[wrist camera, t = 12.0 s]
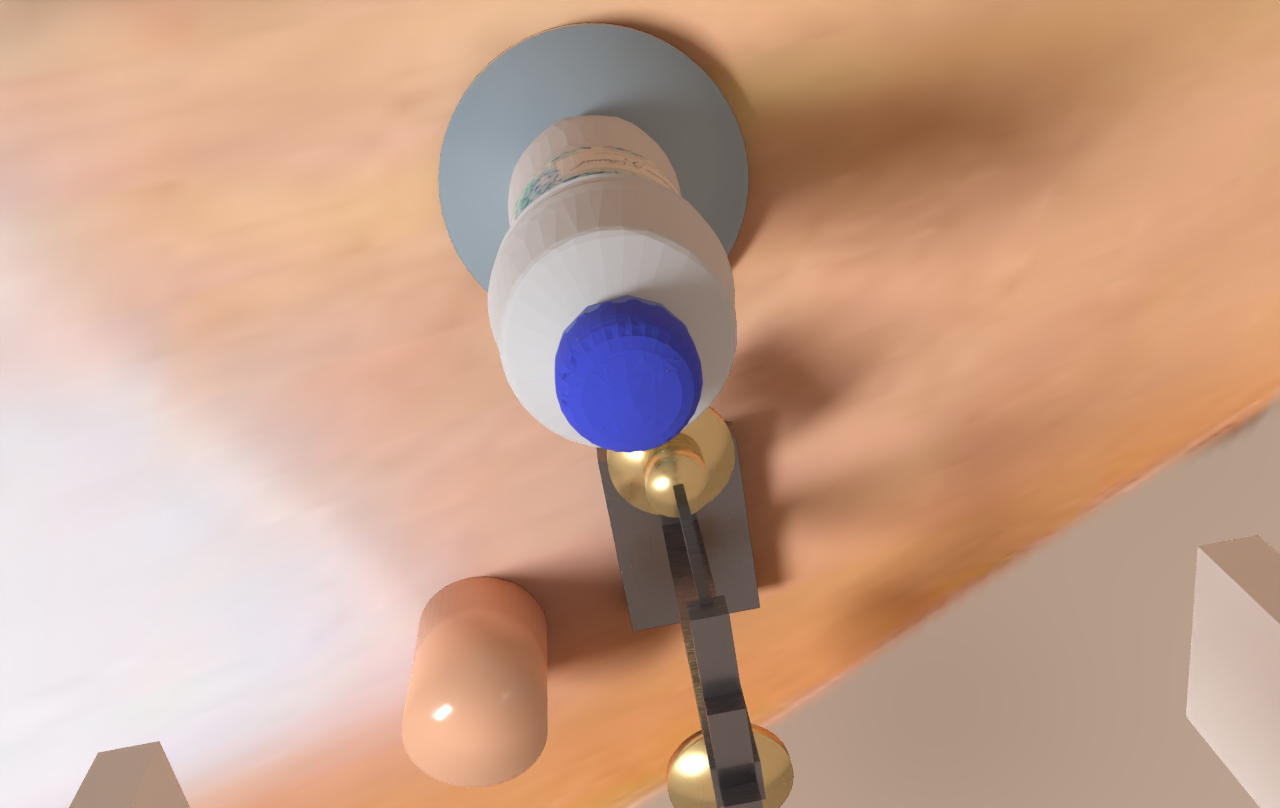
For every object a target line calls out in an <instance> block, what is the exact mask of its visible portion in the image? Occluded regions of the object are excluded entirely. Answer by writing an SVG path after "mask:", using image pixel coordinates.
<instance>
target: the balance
mask: <svg viewBox="0 0 1280 808" xmlns="http://www.w3.org/2000/svg"><path fill="white" fill-rule="evenodd" d="M597 455H598V464H599V469H600V474H601V478H602V483H603V488H604V493H605V498H606V503H607V508H608V513H609V517H610V522H611V527H612V532H613V537H614V542H615V547H616V552H617V557H618V561H619V566H620V571H621V576H622V581H623V586H624V591H625V596H626V600H627V605H628V610H629V615H630V620H631V625H632V630H633V631H638V630H643V629H649V628H654V627H660V626H665V625H670V624H676V623H681V627H682V632H683V637H684V642H685V648H686V653H687V658H688V663H689V668H690V673H691V678H692V683H693V688H694V693H695V698H696V703H697V708H698V713H699V718H700V723H701V728H702V730H700V731H698V732H696V733H695V734H693V735H691V736H690V737H689V738H687V739H686V740H685V741H684V742H683V743H682V744H681V745H680V746H679V747H678V748H677V749H676V750H675V752H674V753H673V755H672V757H671V759H670V761H669V764H668V768H667V785H668V792H669V797H670V800H671V802H672V804H673V806H674V808H780V807H781V805H782V804H783V803H784V802H785V800H786V799H787V797H788V795H789V793H790V791H791V788H792V785H793V778H794V776H793V768H792V764H791V760H790V757H789V754H788V751H787V749H786V747H785V745H784V744H783V742H782V741H781V740H780V739H779V738H778V737H777V736H776V735H774V734H773V733H772V732H770V731H768V730H767V729H764V728H762V727H760V726H757V725H753V724H751V723H750V720H749V716H748V712H747V708H746V704H745V700H744V696H743V693H742V689H741V685H740V680H739V673H738V667H737V661H736V654H735V648H734V641H733V635H732V629H731V622H730V616H729V613H734V612H740V611H745V610H751V609H756V608H760V604H759V597H758V590H757V583H756V576H755V568H754V561H753V554H752V547H751V540H750V533H749V526H748V519H747V512H746V505H745V498H744V491H743V483H742V476H741V469H740V462H739V455H738V448H737V441H736V436H735V433H734V430H733V428H732V425H731V422H728V423H725V421H724V420H723V418H722V417H721V416H720V415H719V414H718V413H717V412H716V411H715V410H714V409H713V408H712V407H710V406H709V407H708V408H707V409H706V410H705V412H704V413H703V414H702V415H701V416H700V417H699V418H698V419H697V420H695V421H694V422H692V423H691V424H690V425H688V426H687V427H685V428H684V429H683V430H682V431H681V432H680V433H679V434H678V435H677V436H675V437H674V438H673V439H671V440H670V441H669V442H667V443H665V444H663V445H661V446H659V447H657V448H654V449H650V450H647V451H643V452H638V451H636V452H632V453H627V452H615V451H613V450H607V449H603V448H599V447H597Z"/></svg>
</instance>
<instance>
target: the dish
mask: <svg viewBox="0 0 1280 808" xmlns="http://www.w3.org/2000/svg"><path fill="white" fill-rule="evenodd" d="M588 115H601V116H613V117H619V118H621V119H623V120H626V121H628V122H631V123H633V124H634V125H636V126H637V127H639V128H640V129H641V130H642V131H644V132H645V133H646V134H647V135H648V136H650V137H651V138H652V139H653V140H654V141H655V142H656V143H657V144H658V145H659V146H660V148H661V149H662V150H663V152H664V153H665V154H666V156H667V157H668V159H669V161H670V163H671V165H672V167H673V169H674V171H675V173H676V176H677V180H678V183H679V187H680V192H681V196H682V198H684V199H685V200H686V201H688V202H689V203H690V204H691V205H692V206H693V207H694V208H695V209H696V210H697V211H698V212H699V213H700V215H701V216H702V217H703V219H704V220H705V221H706V222H707V223H708V224H709V226H710V227H711V229H712V230H713V231H714V233H715V234H716V235H717V237H718V239H719V240H720V242H721V244H722V246H723V248H724V250H725V252H726V255H727V257H728V256H729V253H730V251H731V249H732V247H733V245H734V243H735V241H736V239H737V237H738V234H739V231H740V228H741V225H742V222H743V219H744V214H745V209H746V204H747V197H748V184H749V177H748V160H747V155H746V150H745V144H744V140H743V137H742V134H741V131H740V128H739V125H738V122H737V120H736V117H735V115H734V113H733V111H732V109H731V107H730V105H729V103H728V102H727V100H726V98H725V97H724V95H723V94H722V92H721V91H720V89H719V88H718V86H717V85H716V84H715V83H714V82H713V81H712V79H711V78H710V77H709V76H708V75H707V74H706V73H705V71H704V70H703V69H702V68H701V67H699V66H698V65H697V64H696V63H695V62H694V61H692V60H691V59H690V58H689V57H688V56H687V55H686V54H684V53H683V52H681V51H680V50H678V49H677V48H675V47H674V46H672V45H671V44H669V43H668V42H666V41H664V40H662V39H660V38H657V37H655V36H653V35H651V34H649V33H646V32H643V31H640V30H637V29H634V28H630V27H626V26H621V25H615V24H609V23H579V24H570V25H563V26H560V27H556V28H552V29H548V30H544V31H542V32H539V33H537V34H534V35H532V36H530V37H527V38H525V39H523V40H521V41H520V42H518V43H516V44H515V45H513V46H511V47H509V48H508V49H506V50H505V51H504V52H502V53H501V54H500V55H499V56H497V57H496V58H495V59H494V60H492V61H491V62H490V63H489V64H488V65H487V66H486V67H485V68H484V69H483V70H482V71H481V72H480V73H479V74H478V75H477V76H476V78H475V79H474V81H473V82H472V83H471V85H470V86H469V87H468V89H467V90H466V91H465V93H464V94H463V96H462V98H461V100H460V102H459V104H458V106H457V107H456V109H455V111H454V113H453V115H452V118H451V121H450V123H449V126H448V129H447V131H446V134H445V137H444V142H443V146H442V151H441V155H440V165H439V197H440V203H441V208H442V214H443V218H444V221H445V225H446V228H447V231H448V234H449V237H450V239H451V241H452V243H453V245H454V247H455V250H456V252H457V254H458V255H459V257H460V259H461V260H462V262H463V263H464V265H465V266H466V268H467V270H468V271H469V272H470V273H471V275H472V276H473V277H474V278H475V279H476V281H477V282H478V283H479V284H480V285H481V286H482V287H483V288H484V289H485V290H486V291H487V292H488V288H489V282H490V276H491V272H492V269H493V266H494V263H495V259H496V257H497V253H498V251H499V248H500V245H501V243H502V240H503V238H504V236H505V234H506V233H507V231H508V230H509V228H510V224H509V215H508V195H509V186H510V182H511V178H512V174H513V171H514V167H515V165H516V164H517V162H518V160H519V158H520V156H521V155H522V154H523V152H524V151H525V150H526V149H527V147H528V146H529V145H530V144H531V142H532V141H533V140H534V139H535V138H536V137H538V136H539V135H540V134H541V133H542V132H543V131H544V130H546V129H547V128H548V127H549V126H550V125H552V124H553V123H555V122H557V121H560V120H562V119H564V118H567V117H575V116H588Z"/></svg>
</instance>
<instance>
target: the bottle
mask: <svg viewBox="0 0 1280 808" xmlns="http://www.w3.org/2000/svg"><path fill="white" fill-rule="evenodd" d="M508 215H509V224H510V228H509V230H508V231H507V233H506V234H505V236H504V238H503V240H502V243H501V245H500V248H499V251H498V253H497V257H496V259H495V263H494V266H493V269H492V272H491V276H490V282H489V288H488V312H489V320H490V325H491V329H492V332H493V335H494V338H495V341H496V344H497V346H498V349H499V353H500V357H501V361H502V365H503V369H504V372H505V375H506V378H507V380H508V383H509V384H510V386H511V388H512V390H513V392H514V393H515V395H516V396H517V398H518V399H519V401H520V402H521V404H522V405H523V407H524V408H525V409H526V410H527V411H528V412H529V413H530V414H531V415H533V416H534V417H535V418H536V419H537V420H538V421H539V422H540V423H541V424H542V425H544V426H545V427H547V428H548V429H550V430H551V431H552V432H555V433H557V434H559V435H561V436H563V437H565V438H567V439H569V440H571V441H574V442H577V443H581V444H585V445H588V446H592V447H599V448H603V449H607V450H613V451H615V452H627V453H632V452H636V451H638V452H643V451H647V450H650V449H654V448H657V447H659V446H661V445H663V444H665V443H667V442H669V441H670V440H671V439H673V438H674V437H675V436H677V435H678V434H679V433H680V432H681V431H682V430H683V429H684V428H685V427H687V426H688V425H690V424H691V423H692V422H694V421H695V420H697V419H698V418H699V417H700V416H701V415H702V414H703V413H704V412H705V410H706V409H707V408H708V407H709V406H710V405H711V404H712V403H713V401H714V400H715V398H716V397H717V396H718V394H719V393H720V391H721V390H722V388H723V386H724V384H725V382H726V381H727V378H728V375H729V373H730V370H731V367H732V364H733V360H734V355H735V350H736V345H737V322H736V313H735V289H734V280H733V275H732V270H731V266H730V263H729V260H728V257H727V255H726V252H725V250H724V248H723V246H722V244H721V242H720V240H719V239H718V237H717V235H716V234H715V233H714V231H713V230H712V229H711V227H710V226H709V224H708V223H707V222H706V221H705V220H704V219H703V217H702V216H701V215H700V213H699V212H698V211H697V210H696V209H695V208H694V207H693V206H692V205H691V204H690V203H689V202H688V201H686V200H685V199H684V198H682V196H681V192H680V187H679V183H678V180H677V176H676V173H675V171H674V169H673V167H672V165H671V163H670V161H669V159H668V157H667V156H666V154H665V153H664V152H663V150H662V149H661V148H660V146H659V145H658V144H657V143H656V142H655V141H654V140H653V139H652V138H651V137H650V136H648V135H647V134H646V133H645V132H644V131H642V130H641V129H640V128H639V127H637V126H636V125H634V124H633V123H631V122H628V121H626V120H623V119H621V118H619V117H613V116H601V115H588V116H575V117H567V118H564V119H562V120H560V121H557V122H555V123H553V124H552V125H550V126H549V127H548V128H547V129H546V130H544V131H543V132H542V133H541V134H540V135H539V136H538V137H536V138H535V139H534V140H533V141H532V142H531V144H530V145H529V146H528V147H527V149H526V150H525V151H524V152H523V154H522V155H521V156H520V158H519V160H518V162H517V164H516V165H515V167H514V171H513V174H512V178H511V182H510V186H509V195H508Z"/></svg>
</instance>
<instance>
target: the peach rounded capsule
mask: <svg viewBox="0 0 1280 808" xmlns="http://www.w3.org/2000/svg"><path fill="white" fill-rule="evenodd" d="M401 732H402V740H403V744H404V747H405V750H406V752H407V754H408V755H409V757H410V758H411V760H412V761H413V762H414V763H415V765H416V766H417V767H419V768H420V769H421V770H422V771H423V772H425V773H426V774H428V775H429V776H431V777H433V778H435V779H437V780H439V781H442V782H444V783H447V784H451V785H455V786H461V787H487V786H493V785H497V784H501V783H503V782H506V781H509V780H511V779H513V778H515V777H517V776H519V775H520V774H522V773H523V772H525V771H526V770H527V769H528V768H530V767H531V766H532V765H533V764H534V762H535V761H536V760H537V759H538V757H539V756H540V754H541V753H542V751H543V749H544V746H545V743H546V739H547V624H546V618H545V615H544V612H543V610H542V608H541V606H540V605H539V603H538V602H537V601H536V599H535V598H534V597H533V596H532V595H531V594H530V593H528V592H527V591H526V590H525V589H523V588H522V587H520V586H518V585H516V584H514V583H512V582H509V581H506V580H503V579H498V578H492V577H474V578H468V579H463V580H460V581H457V582H454V583H452V584H450V585H448V586H446V587H445V588H443V589H442V590H440V591H439V592H438V593H437V594H435V595H434V596H433V597H432V598H431V600H430V601H429V602H428V603H427V605H426V607H425V608H424V610H423V613H422V615H421V619H420V623H419V629H418V635H417V641H416V646H415V652H414V658H413V664H412V669H411V675H410V681H409V686H408V692H407V698H406V704H405V709H404V715H403V721H402V729H401Z"/></svg>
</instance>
